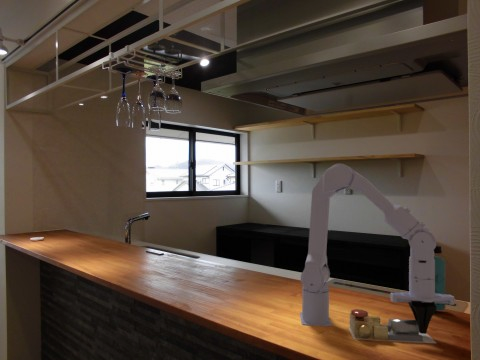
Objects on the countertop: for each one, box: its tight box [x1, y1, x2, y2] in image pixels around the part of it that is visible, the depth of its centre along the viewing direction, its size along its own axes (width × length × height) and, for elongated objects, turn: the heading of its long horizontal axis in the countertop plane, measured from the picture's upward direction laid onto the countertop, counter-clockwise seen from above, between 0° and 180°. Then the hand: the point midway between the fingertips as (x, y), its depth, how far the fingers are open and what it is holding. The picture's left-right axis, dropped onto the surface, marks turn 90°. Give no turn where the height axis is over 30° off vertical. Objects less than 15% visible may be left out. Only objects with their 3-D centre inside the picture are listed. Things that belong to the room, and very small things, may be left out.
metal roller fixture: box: [347, 323, 437, 344], centre depth 92 cm, size 8×19×2 cm, turn 84°
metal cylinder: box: [387, 318, 419, 335], centre depth 91 cm, size 4×6×4 cm, turn 84°
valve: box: [349, 308, 389, 342], centre depth 92 cm, size 10×8×5 cm
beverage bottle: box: [434, 244, 447, 312], centre depth 110 cm, size 6×7×20 cm
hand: (421, 332), depth 91 cm, fingers closed
